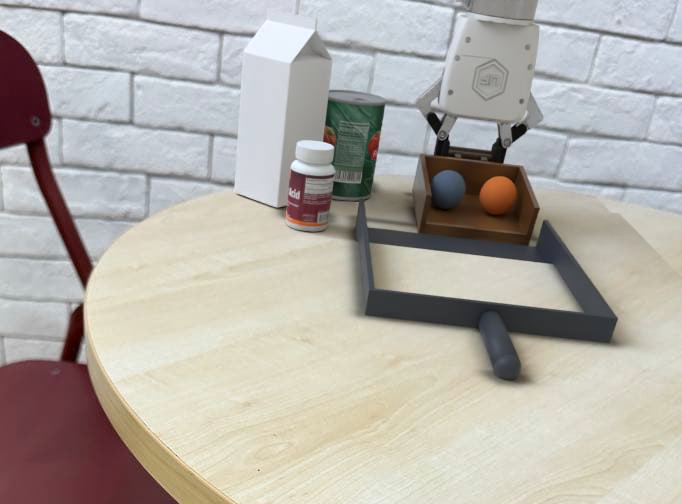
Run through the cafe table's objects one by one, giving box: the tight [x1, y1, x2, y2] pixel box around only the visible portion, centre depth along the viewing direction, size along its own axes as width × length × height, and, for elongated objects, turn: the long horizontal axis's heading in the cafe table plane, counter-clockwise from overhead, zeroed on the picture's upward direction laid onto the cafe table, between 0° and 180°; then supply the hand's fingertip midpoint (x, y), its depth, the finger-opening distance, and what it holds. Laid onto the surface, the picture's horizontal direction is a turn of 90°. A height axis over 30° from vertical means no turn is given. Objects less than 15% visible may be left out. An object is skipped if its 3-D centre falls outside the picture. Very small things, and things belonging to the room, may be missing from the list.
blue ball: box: [430, 170, 466, 209], centre depth 99 cm, size 4×4×4 cm
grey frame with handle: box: [354, 198, 619, 381], centre depth 79 cm, size 38×21×3 cm, turn 177°
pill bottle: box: [284, 140, 335, 233], centre depth 92 cm, size 5×5×8 cm
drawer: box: [411, 145, 541, 246], centre depth 100 cm, size 13×16×5 cm
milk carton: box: [233, 8, 333, 208], centre depth 96 cm, size 7×7×19 cm
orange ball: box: [480, 176, 517, 215], centre depth 99 cm, size 4×4×4 cm
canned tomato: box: [323, 89, 387, 202], centre depth 104 cm, size 8×8×11 cm
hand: (464, 175), depth 105 cm, fingers closed on drawer, 5 cm apart
